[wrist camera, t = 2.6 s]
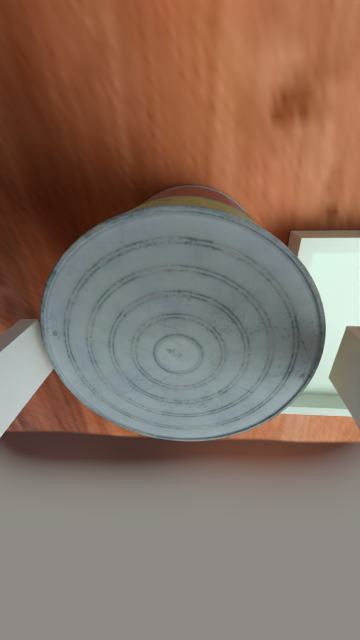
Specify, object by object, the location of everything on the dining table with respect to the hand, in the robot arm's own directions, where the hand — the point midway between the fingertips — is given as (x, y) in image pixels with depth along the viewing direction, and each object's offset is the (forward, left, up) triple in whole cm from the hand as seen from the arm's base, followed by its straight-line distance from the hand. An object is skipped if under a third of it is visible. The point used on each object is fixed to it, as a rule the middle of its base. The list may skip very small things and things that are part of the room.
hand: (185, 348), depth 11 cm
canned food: (0, 0, -11) cm, 11 cm away
